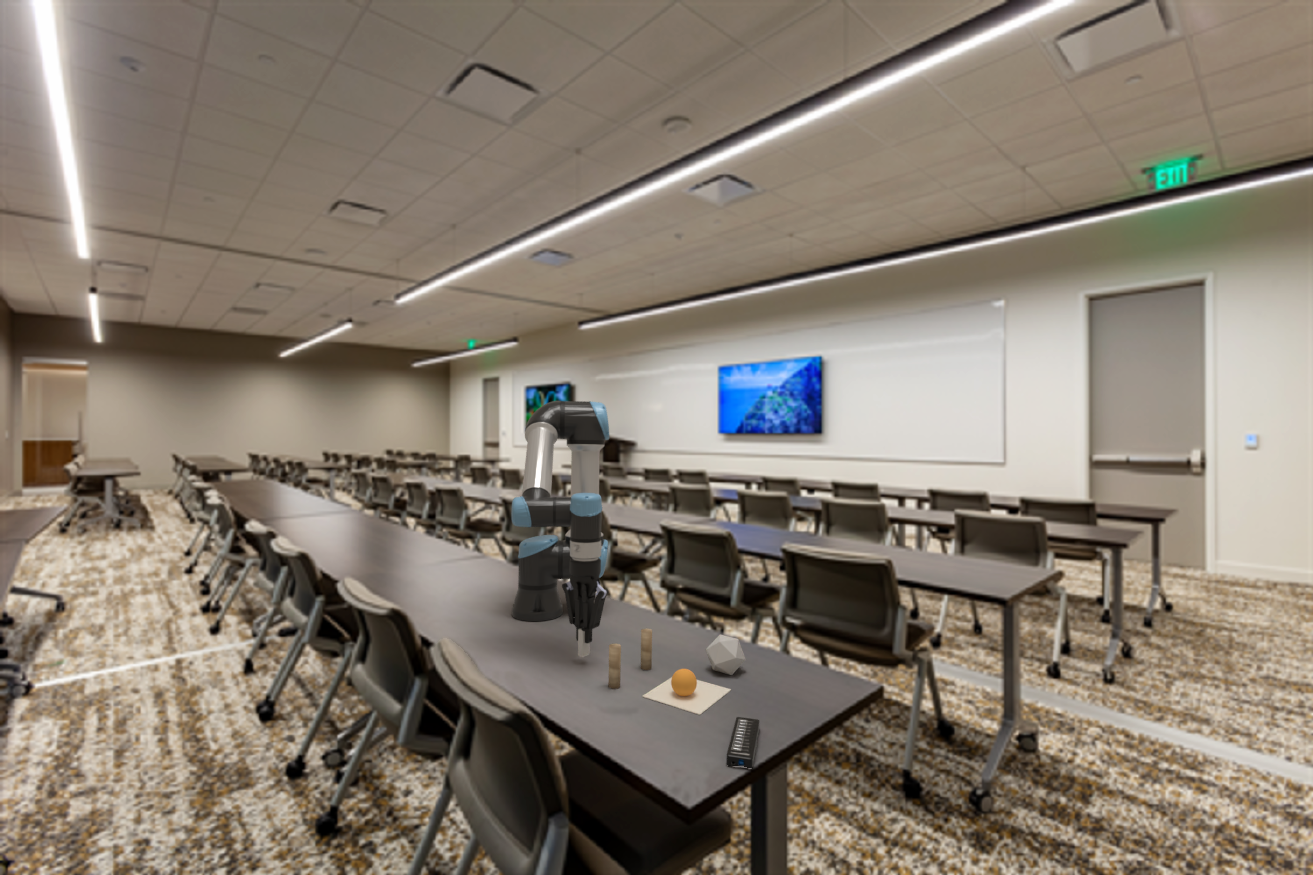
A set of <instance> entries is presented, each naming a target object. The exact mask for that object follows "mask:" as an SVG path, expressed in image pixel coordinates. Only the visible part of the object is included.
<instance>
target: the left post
mask: <svg viewBox="0 0 1313 875" xmlns="http://www.w3.org/2000/svg"><path fill="white" fill-rule="evenodd" d="M621 653H622V645H621V644H620V643H610V644H609V645H608V688H609V689H612V690H614V689H615V690H616V689H619V688H621V669H622V668H621V666H622V665H621V660H622V659H621V656H622V654H621Z"/></svg>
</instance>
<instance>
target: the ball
mask: <svg viewBox="0 0 1313 875" xmlns="http://www.w3.org/2000/svg"><path fill="white" fill-rule="evenodd" d="M671 677H672V679H671V685H672V688H673V690H674V692H675V693H676V694H678V695H680V696H689V695H691V694H692V693H693V692H694V691H695V689H696V686H697V680H698V679H697V677H696V675H695V673H694V672H693V671H692V670H690V669H688V668H680V669H677V670H676V671H675V672H673V674H672V676H671Z"/></svg>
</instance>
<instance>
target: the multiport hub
mask: <svg viewBox="0 0 1313 875" xmlns="http://www.w3.org/2000/svg"><path fill="white" fill-rule="evenodd" d="M759 734H760V719H757V718H750V717H749V718H748V717H742V716H736V718H735V721H734V724H733V729H732V733H731V737H730V740H729V744H728V749H727V752H726V766H727V765H728V766H727V767H729V766H744V767H747V768H752V767H753V768H754V764H753V763H755V758H756V757H755V756H756V752H757V746H758V739H759Z"/></svg>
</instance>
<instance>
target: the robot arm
mask: <svg viewBox="0 0 1313 875" xmlns="http://www.w3.org/2000/svg"><path fill="white" fill-rule="evenodd" d="M524 438H525V441H526V442H527V443H526V452H525V462H524V469H523V471H524V473H523V481H522V489H521V496H516V497H514V498H513V499H512V501H511V523H512V525H513V526H515V527H521V528H540V527H541V528H543V527H545V528H546V527H549V528H550V527H551V528H552V527H556V528H558V527H559V528H561V527H562V528H565V527H566V528H568V527H569V528H570V529H569V530H568V531H567V532H566V533H565V535H564V540H563V539H561V540H559V537H558V536H557V535H555V534H544V535H537V536H532V537H531V536H530V537H529V538H525V539H524V540H522V541H521V542H520V543H519V546H518V556H517V558H518V575H517V576H518V581H517V582H518V583H517V584H518V586H517V592H516V595H515V598H514V603H513V604H512V606H511V607H512V608H511V616H512V617H513V618H514V619H516V620H519V621H525V622H541V621H544V622H545V621H550V620H554V619H557V618H559V617H561V616H562V615H563V613H564V611H563V607H564V604H563V603H562V602H561V601H562V600H561V597H560V593H559V590H558V580H569V581H567V582H564V583H562V584H561V587H562V590H563V593H564V596H565V602H566V607H567V608H566V609H567V614H568V615H567V616H568V619H569V624H570V625H574V627H575V630H576V631H575V633H576V634H575V638H576V641H577V657H580V658H585V657H587V656H589V655H590V654H591V642H592V641H593V630H594V629H596V628H599V627H600V624H601V620H602V616H603V610H604V606H605V601H606V598H607V596H608V595H609V592H610V591H609V590H608V589H607V588H605V589H604V588H603V586H601V585H602V584H601V580H600V578H601V577H603V575H604V573H605V570H606V565H607V560H608V559H607V558H608V550H609V549H608V548H609V547H608V546H609V540H608V539H605V538H604V533H603V532H602V515H603V514H602V513H603V512H602V511H603V502H602V496H601V495H600V454H601V452H600V451H601V450H602V449H603V448H604V447H605V444H606V443H605V441H609V439H610V425H609V418H608V412H607V407H606V405H605V404H604V403H603V402H600V401H589V400H588V401H583V400H582V401H574V400H573V401H571V400H570V401H569V400H568V401H566V400H564V401H563V400H553V401H550V402H547V403H545V404H543V405H542V406H540V407H539V408H537V409H536V410H535V411H534V412H533V414H532V415H531V416H530V417H529V419H528V420H527V422H526V425H525V430H524ZM558 440H566V446H567V448H568V449H570V450H571V461H570V462H571V463H570V464H571V466H570V468H571V470H570V474H571V475H570V496H566V497H565V496H562V497H561V496H552V486H553V485H552V484H553V482H552V481H553V470H554V469H553V466H554V465H553V464H554V463H553V462H554V449H555V448H554V447H555V444H556V442H557V441H558Z"/></svg>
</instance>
